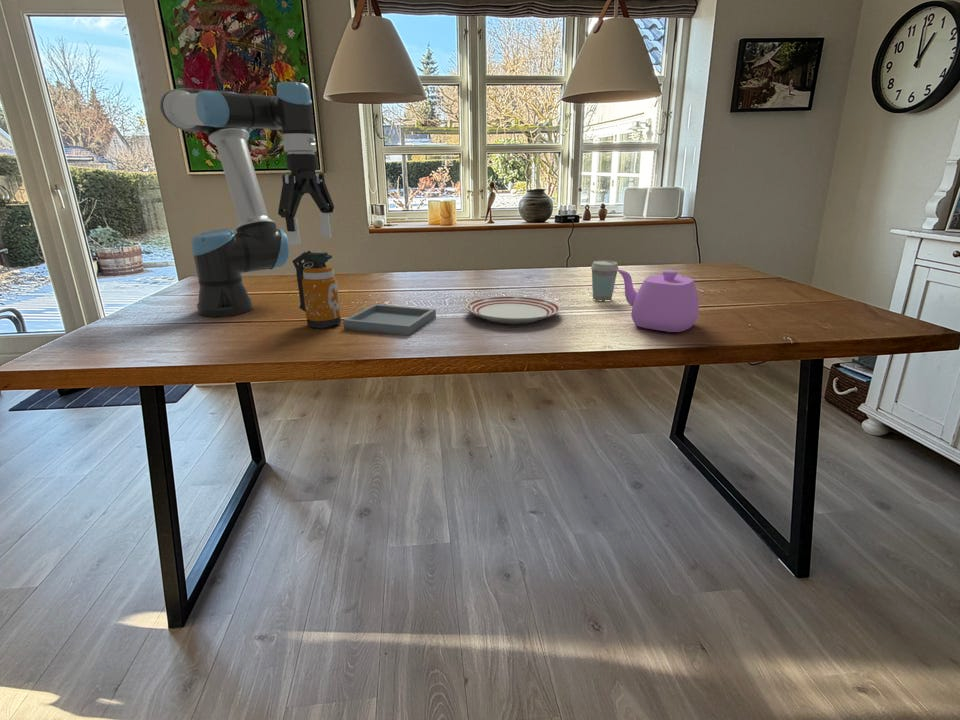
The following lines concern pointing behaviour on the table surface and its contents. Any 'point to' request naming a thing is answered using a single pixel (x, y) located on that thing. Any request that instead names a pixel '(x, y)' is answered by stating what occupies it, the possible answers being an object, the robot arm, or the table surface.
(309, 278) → the canister
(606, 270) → the coffee cup
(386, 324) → the tray
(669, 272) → the teapot
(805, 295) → the table surface
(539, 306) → the dinner plate
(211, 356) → the table surface
